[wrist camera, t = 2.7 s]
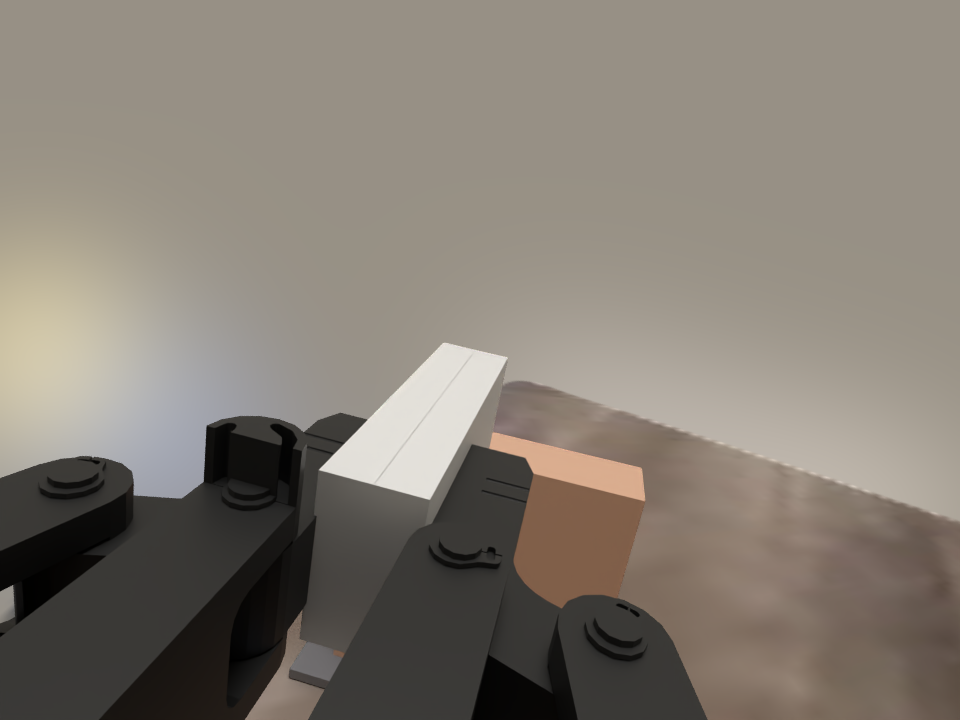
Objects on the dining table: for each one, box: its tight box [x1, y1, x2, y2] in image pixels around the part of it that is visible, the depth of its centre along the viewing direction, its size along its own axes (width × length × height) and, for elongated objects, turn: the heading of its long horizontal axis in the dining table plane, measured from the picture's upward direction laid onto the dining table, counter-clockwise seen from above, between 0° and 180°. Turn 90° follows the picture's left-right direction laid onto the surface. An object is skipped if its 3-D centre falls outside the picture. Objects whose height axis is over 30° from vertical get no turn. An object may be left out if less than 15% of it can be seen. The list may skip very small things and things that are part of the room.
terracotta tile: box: [333, 432, 645, 658], centre depth 29 cm, size 12×3×12 cm, turn 79°
